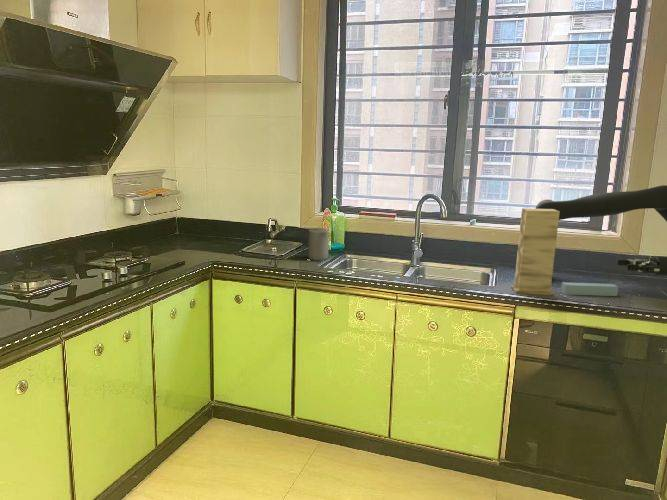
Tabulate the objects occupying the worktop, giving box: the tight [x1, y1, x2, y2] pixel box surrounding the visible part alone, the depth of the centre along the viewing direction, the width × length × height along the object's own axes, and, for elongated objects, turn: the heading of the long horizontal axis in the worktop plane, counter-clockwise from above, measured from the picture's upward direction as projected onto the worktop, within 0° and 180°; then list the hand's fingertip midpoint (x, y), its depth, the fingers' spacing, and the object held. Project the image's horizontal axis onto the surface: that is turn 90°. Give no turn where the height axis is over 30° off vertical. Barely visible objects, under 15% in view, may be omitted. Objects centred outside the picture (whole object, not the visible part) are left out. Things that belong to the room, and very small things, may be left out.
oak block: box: [510, 207, 560, 296], centre depth 202 cm, size 8×14×32 cm, turn 87°
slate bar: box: [560, 281, 619, 297], centre depth 204 cm, size 4×20×4 cm, turn 89°
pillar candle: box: [307, 227, 330, 261], centre depth 251 cm, size 10×10×15 cm
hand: (622, 264), depth 200 cm, fingers open, 8 cm apart
